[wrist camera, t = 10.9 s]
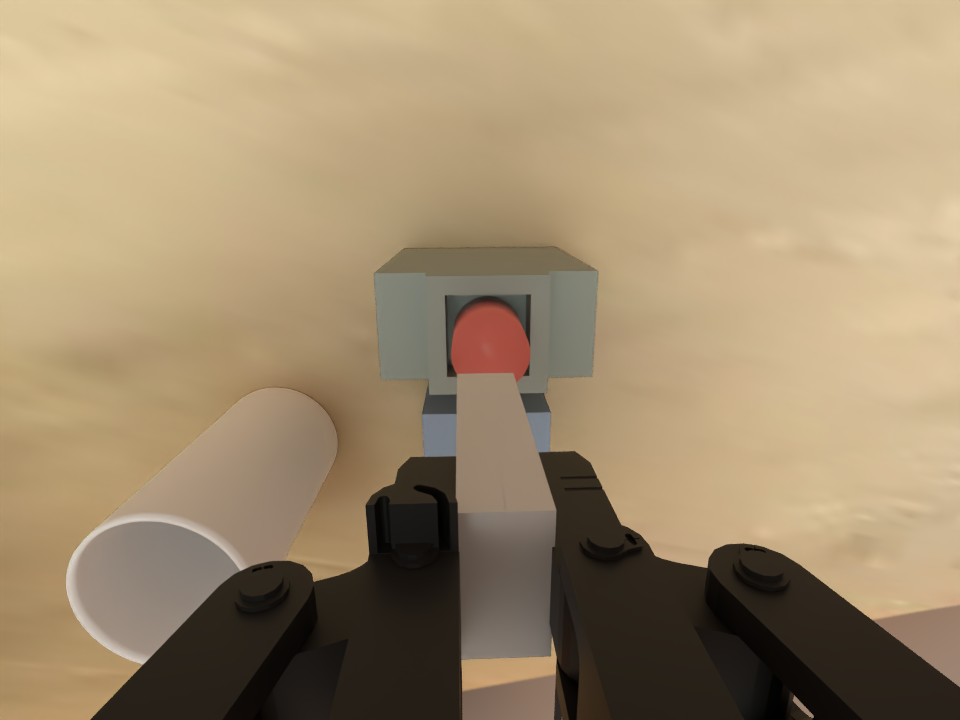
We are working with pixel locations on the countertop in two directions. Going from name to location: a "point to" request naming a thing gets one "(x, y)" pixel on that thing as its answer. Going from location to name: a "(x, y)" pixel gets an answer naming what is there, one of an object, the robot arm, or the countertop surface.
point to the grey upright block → (484, 273)
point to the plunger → (489, 339)
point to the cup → (202, 521)
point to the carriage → (443, 422)
